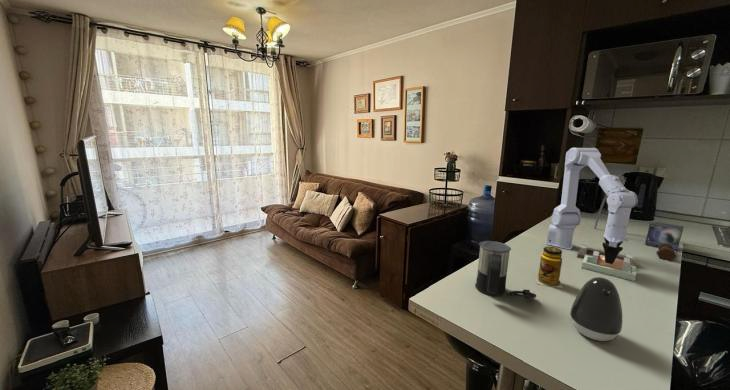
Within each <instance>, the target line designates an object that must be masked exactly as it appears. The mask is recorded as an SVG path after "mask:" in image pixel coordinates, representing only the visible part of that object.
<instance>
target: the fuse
mask: <svg viewBox="0 0 730 390" xmlns="http://www.w3.org/2000/svg"><path fill="white" fill-rule="evenodd" d="M592 255H593V257H592V262H591V263H592V264H596V265H600V266H604V267H609V268H613V269H617V270H621V271H625V272H628V269H629V265H630V259H629V258H624V260H621V259H617V258H616V259H615V261H614V263H613V264H609V263H605V256H603V255H599V252H597V251H594V253H593V254H592Z"/></svg>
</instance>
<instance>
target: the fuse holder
mask: <svg viewBox="0 0 730 390" xmlns="http://www.w3.org/2000/svg"><path fill="white" fill-rule="evenodd" d="M594 251H597V252H599V255H603V256H605V251H604V250H600V249H595V248H590V247H588V245H587V244H584V243H583V244H581V245H580V247H579V250H578V252H577V256H576V257H577V258H579V259H582V260H584V257H585V255H587V256H592V257H593V253H594ZM616 258H617V259H621V260H624V258H629V259H630V265H631V266H634V255H633V254H630V253H629V254H628V253H626V255H623V254H620V253H619V254H618V255H617V257H616Z"/></svg>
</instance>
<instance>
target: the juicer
mask: <svg viewBox="0 0 730 390" xmlns="http://www.w3.org/2000/svg"><path fill="white" fill-rule="evenodd" d="M614 175H615V174H614ZM615 176H617V177H618V178H619V180H620V182H621V183H622V184H623V186H624V185H625V182H626V181H625V176H624V175H622V174H616V175H615ZM607 198H608V196H607V195H606V194H605V195H604V198H603V199H602V202H601V205H600V206H599V207H600V208H599V210H598V214H597V217H596V220H595V224H594V230H597V226H598V222H599V219H600V216H601V213H602V212H603V208H604V205H605V203H606V202H607Z"/></svg>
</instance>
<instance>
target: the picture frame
mask: <svg viewBox="0 0 730 390" xmlns="http://www.w3.org/2000/svg"><path fill="white" fill-rule="evenodd" d="M683 231H684V226H683V225H676V224H673V223H672V224H670V223H665V222H660V221H655V220H652V221H650V223H649V226H648V230H647V235H646V237H645V243H644V245H645V246H648V247H653V248H658V246H659V245H661V244H662V243H667V244H671V245H672V247H673V249H674V252H675V251H676V253H677V252H678V250H679V245H680V242H681V240H682V239H681V238H682V235H683Z"/></svg>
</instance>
